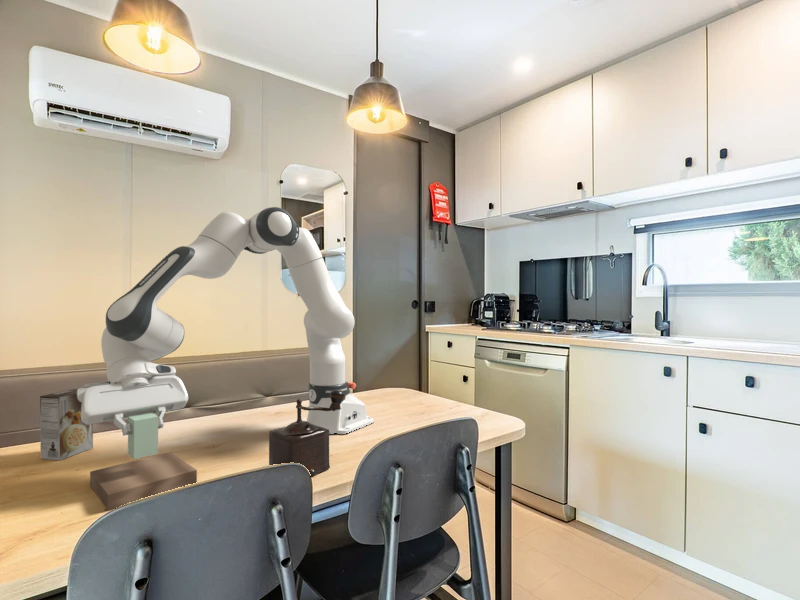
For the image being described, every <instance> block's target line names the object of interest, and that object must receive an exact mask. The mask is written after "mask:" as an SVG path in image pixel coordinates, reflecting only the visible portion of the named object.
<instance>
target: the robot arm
mask: <svg viewBox="0 0 800 600" xmlns="http://www.w3.org/2000/svg"><path fill="white" fill-rule="evenodd" d="M243 250H245V251H247V252H249V253H251V254H252V253H253V254H257V255H261V254H265V253H266V254H267V253H268V252H272V251H274V250H276V251H277V252H279V253H280V254H281V256H282V257H283V258H284V260H285V263H286V264H285V265H286V267H287V269H288V272H289V275H290V277H291V280H292V282H293V284H294V288H295V290H296V292H297V294H298V296H299V297H300V299H301V300H302V301H303V303H304V304H305V306H306V308H307V311H306V312H305V314H304V316H303V325H304V328H305V334H306V341H307V342H306V343H307V347H308V355H309V383H308V401H309V403H308V407H324V408H330V405H331V403H332V402H331V399H330V393H331V391H334V390H340V391H342V392H344V393H345V396H346V397H345V400H344V401H343V402H342V403H341V404H340V406H341V410H336V411H319V410H307V411H308V413H307V418H306V422H309V423H311V424H313V425H316V426H319V427H323V428H326V429H328V430H329V435H333V434H334V433H337V434H338V435H347V434H346V433H348V434H350V433H352V432H355V431H357V430H360V429H362V428H365V427H366V425H367V426H369V425H371V423H372V424H374V423H373V422H375V421H374V418H373V417H371V416H369V415H368V414H367V413H368V412H367V408H366V405H365V402H364V401H361V399H359V397H358V398H357V397H356V396H355V395H353V393H351V391H350V389H352V390H355V389H356V387H357V384H356V383H355V382H351V381H350V382H347V381H346V355H345V353H344V351H343V347H342V341H341V339H344V338H346V337H348V336H349V335H350V334H351V333H352V331H353V330H354V327H355V316H354V314H353V312H352V311H351V310H350V309H349V308H348V307H347V305H346V303H345V302H344V300H343V297H342V296H341V294H340V293H339V291H338V289H337V288H336V286H335V284H334V282H333V281H332V278H331V276H330V272H329V270H328V268H327V264H326V263H325V260H324V257H323V254H322V252H321V250H320V247H319V246H318V243H317V241H316V240H315V238H314V237H313V234H312V233H311V231H310V230H309V229H307V228H305V227H300V226H299V224H298V223H297V222H296V221H295V219H294V218H293V216H292V215H291V214H290V213H289V212H288V211H287V210H285V209H284V208H281V207H278V206H271V207H266V208H264V209H263V210H260V211H259V212H257V213H255V214H253V215H252V216H251V217H250V218H244V217H242V216H241V215H240V214H237V213H236V212H232V211H224V212H222V211H221V213H219V214H218V215H216V216H215V217H214V218H213V219H212V220H210V222H209V223H208V224H207V225H206V226H205V227H204V229H202V231H200V234H199V235H198V236H197V238H195V240H193V241H192V242H191V243H190V244H189V245H186V246H184V245H183V246H179V247H176V248H174V249H173V250H171V251H170V252H169V253H167V255H165V256H164V257H163V258H162V259H161V260H160V261H159V262H158V263H157V264H156V265H155V266H154V267H152V269H151V270H150V271H149V272H148V273H147V274H146V275H145V276H143V278H141V279H140V281H138V282H137V284H135V285H134V286H133V287H132V288H130V290H128V292H126V293H125V294H123V295H121V296H120V297H119V298H117V299H116V300H115V301H113V302H112V304H111V305H110V306H109V307H108V308H107V310H106V314H105V326H106V327H105V328H104V329H103V331H102V334H101V341H100V342H101V345H100V346H101V352H102V358H103V361H104V363H105V365H106V376H107V381H101V382H96V383H85V384H84V385H82V386H80V387H79V388H77V389H78V390H77V399H78V400H79V401H80V402H82V405H81V420H82V422H83V423H85V424H86V425H89V424H93V425H95V424H101V423H106V422H112V421H113V424H114V425H115V427H117V428H119V430H121V433H122V437H123V436H124V437H125V436H128V435H130V434H132V431H133V429H132V424H131V423H130V424H128V422H127V423H126V422H125V420H124V419H128V417H130V416H136V415H142V414H148V413H153V414H155V415H156V416H158V430H160V429H163V427H164V424H165V423H164V419H163V418H164V415H165V413H166V412H171V411H177V410H183V409H184V408H185V406H186V404H187V403H188V401H189V394H188V391H187V388H186V386H185V384H184V382H183V381H182V379H181V378H180V377H179V376H177V375H176V373H177V370H176V367H174V366H173V365H165V364H159V363H155V362H154V361H157V360H159V359H162V358H164V357H166V356H168V355H170V354H172V353H173V352H176V350H177V349H179V348H180V346H181V345H182V343H183V341H184V338H185V327H184V325H183V324H182V323H181V322H180V321H178V320H177V319H176V318H174V317H173V316H171V315H170V314H168V313H167V312H165V311H163V310H161V308H159V307H157V303H158V301H159V300H160V299H161V298H162V296H163V295H164V294H166V293H167V291H168V290H170V288H171V287H172V286H173V285H174V284H176V282H177V281H178V280H179V279H181V278H182V277H186V276H195V277H198V278H202V279H208V280H210V279H211V280H213V279H214V280H215V279H219V278H221V277H223V276H224V275H226V274H227V273H228V272H229V270H231V268H232V267H233V265H234V264H235V263H236V261H237V259H238V258H239V256H240V255H241V252H243ZM359 428H360V429H359ZM356 429H357V430H356ZM354 430H355V431H354ZM351 431H352V432H351ZM349 432H350V433H349ZM337 434H336V435H337ZM334 435H335V434H334Z"/></svg>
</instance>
